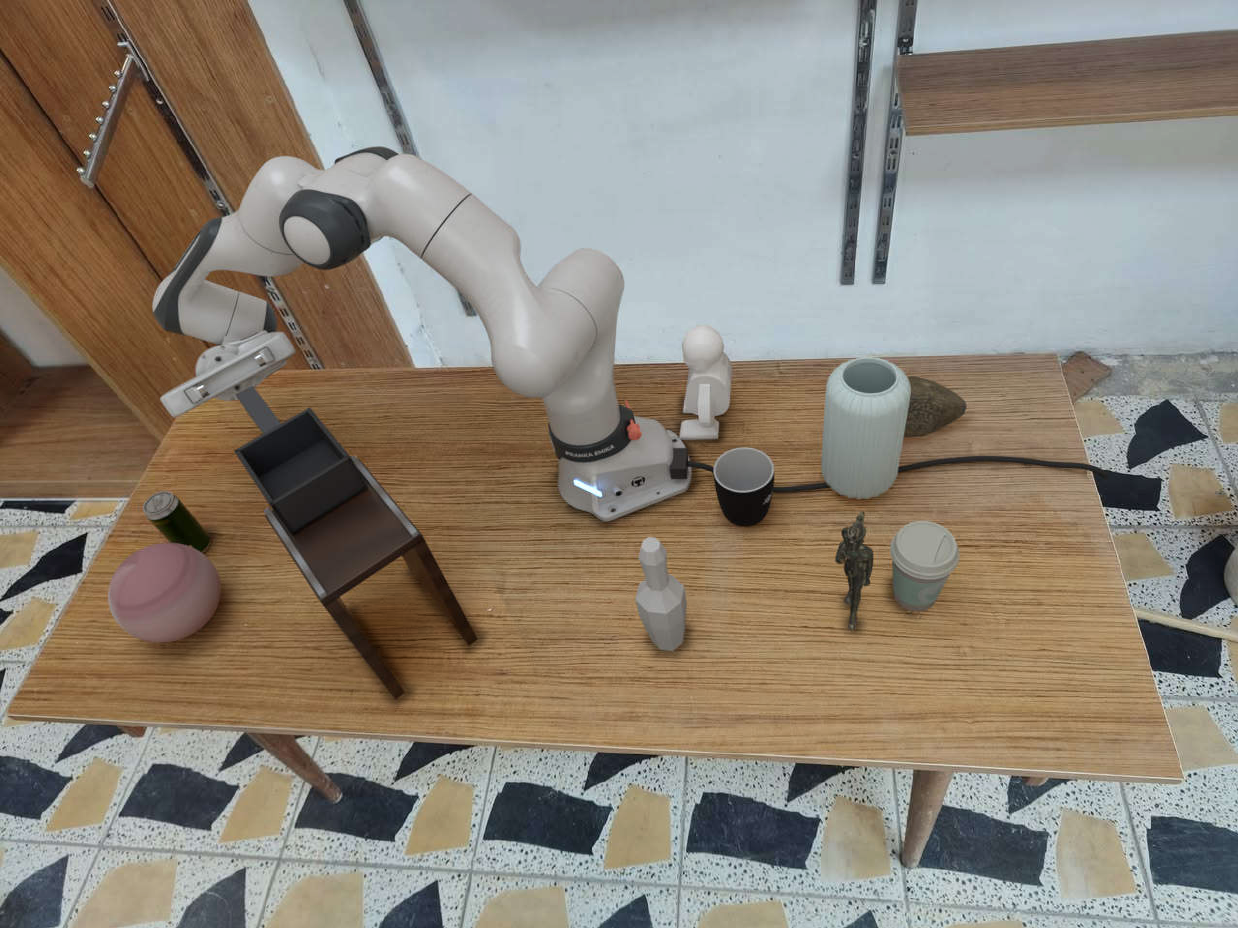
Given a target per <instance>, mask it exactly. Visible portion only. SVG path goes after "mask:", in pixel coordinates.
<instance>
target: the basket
mask: <svg viewBox="0 0 1238 928" xmlns="http://www.w3.org/2000/svg"><path fill="white" fill-rule="evenodd" d="M236 397H237V398H238V400H237V401H239V403H240V404H241V406H242V408H243V409H244V410H245V411H246V413H247V414H248V416H249V417H250V418H251V420H252V421H253V422H254V424H255V425H256V427H257V428H258V429H259V430H260V433H262V434H260V435H259V436H256V437H255V438H253V439H252V440H250V441H248V442H247V443H245V444H243V445H241V446H240V447H238V448H236V449H233V452H234V453H235V455H236V456H237V458H238V460H239V461H240V462H241V464H242V465H243V467H244V468H245V470H246V471H247V473H248V475H249V476H250V478H251V479H252V481H253V482H254V484H255V485H256V488H258V490H259V491H260V493H261V494H262V496H263V497H264V499H265V501H266V502H267V503H268V505H269V507H270V509H271V510H274V512H275V513H276V514H277V516H278V517H279V519H280V520H281V521H282V523H283V524H284V525H285V527H286V528H287V529H288V531H289V532H290V534H291V535H293V534H295V533H296V532H298V531H299V530H301V529H303V528H304V527H306V526H307V525H309V524H311V523H312V522H314V521H315V520H317V519H319V518H320V517H322V516H323V515H325V514H327V513H328V512H330V511H331V510H333V509H335V508H336V507H338V506H339V505H341V504H343V503H344V502H346V501H347V500H349V499H351V498H352V497H354V496H355V495H357V494H359V493H360V492H362V491H363V490H365V489H367V488H368V486H367V485H366V483H365V481H364V479H363V478H362V476H361V474H360V472H359V471H358V469H357V467H356V465H355V464H354V462H353V460H352V458H351V457H352V456H351V455H350V454H349V453H348V452H347V450H346V449H345V448H344V446H343V445H342V444H341V443H340V442H339V441H338V440H337V438H336V437H335V436H334V435H333V434H332V432H331V431H330V430H329V428H328V427H327V426H326V425H325V424H324V423H323V421H322V420H321V419H320V417H319V416H318V415H317V414H316V412H314V410H313V409H312V408H311V407H308V408H306V409H304V410H302V411H300V412H299V413H297V414H296V415H294V416H292V417H290V418H288V419H286V420H284V422H281V421H280V420H279V418H278V417H277V416H276V414H275V413H274V412H273V411H272V409H271V408H270V406H269V405H268V404H267V403H266V402H265V400H264V399H263V397H262V396H261V395H260V393H259V392H258V391H257V390H256V388H254V387H253V386H251V387H249V388H247V389H245V390H243V391H241V392H240V393H238V394H236Z"/></svg>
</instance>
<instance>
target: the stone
mask: <svg viewBox="0 0 1238 928" xmlns="http://www.w3.org/2000/svg"><path fill="white" fill-rule="evenodd" d="M907 377H908V380H909V384H910V386H911V395H910V401H909V407H908V413H907V419H906V425H905V431H904V437H907V438H917V437H925V436H927V435H930V434H933V433H936V432H938V431H940V430H942V429H943V428H945V427H947V426H948V425H950V424H952V423H953V422H955V421H957V420H958V419H960V418H961V417H962V416H964V415H965V413H966V410H967V408H968V407H967V403H966V401H965V400H964V399H963V398H962V397H961V396H960V395H959V394H958V393H957V392H955V391H953V390H951V389H950V388H948V387H946V386H944V385H942V384H940V383H938V382H936V381H934V380H930V379H928V378H924V377H920V376H916V375H910V376H907Z"/></svg>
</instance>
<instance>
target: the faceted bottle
mask: <svg viewBox="0 0 1238 928" xmlns="http://www.w3.org/2000/svg"><path fill="white" fill-rule="evenodd" d="M637 558H638V561H639V564H640V566H641V568H642V571H643V576H644V579H643V580H642V581H641V582H640V583H638V587H637V591H636V596H635V604H636V608H637V613H638V616H639V618H640V621H641V622H642V625H643V627H644V629H645V631H646V633H647V636H648V637H649V639H650V641H651V642H652V643H653V644H654V645H655V646H656V647H657V648H658V649H659V650H661V651H667V652H669V651H670V652H674V651H675V650H676V649H678V648H679V647H680V646H681V645H682V644H684V643H683V642H684V638H685V632H686V620H687V605H688V601H687V596H686V595H687V594H686V588H685V585H683V583H682V582H680V581H679V579H678V578H676V577H675V576H674V575H673V574H669V570H668V563H667V562H668V550H667V549H666V547H665V546H664V545H663V544H662V542H661V541H660V540H658V539H657V538H656V537H650V536H648V537H646V538H645V539H644V540H642V543H641V546H640V550H639V554H638V557H637Z"/></svg>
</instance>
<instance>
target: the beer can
mask: <svg viewBox="0 0 1238 928" xmlns="http://www.w3.org/2000/svg"><path fill="white" fill-rule="evenodd" d="M142 511H143V513H144V515H145V517H146V519H148V521H150V523H151V524H152V525H153V527H155V528H156V529H157V530H158V532H160V534H162V536H163V537H164V538H165V539H166V540H167V541H168V543H178V544H183V545H187V546H190V547H192V548H194V549H196V550H198V551H200V552H201V553H203V554H205V553H206V552H207V550H209V548H210V546H211V543H212V541H211V540H212V539H211V535H210V533H209V532H208V531H207V530H206V529H205V527H204V526H203V525H202V524H201V523H200V522H199V521H198V520H197V519H196V517H195V516H194V515H193V514H192V512H191V511H190V510H189V509H188V508H187V507H186V506H185V504H184V503H183V502H182V501H181V500H180V498H179V497H177V495H176V494H173V493H172V492H171V491H168V490H161V491H158V492H155V493H154V494H152V495H151V496H149V497H148V498H147V499H146V500H145V501H144V503H143V505H142Z"/></svg>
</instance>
